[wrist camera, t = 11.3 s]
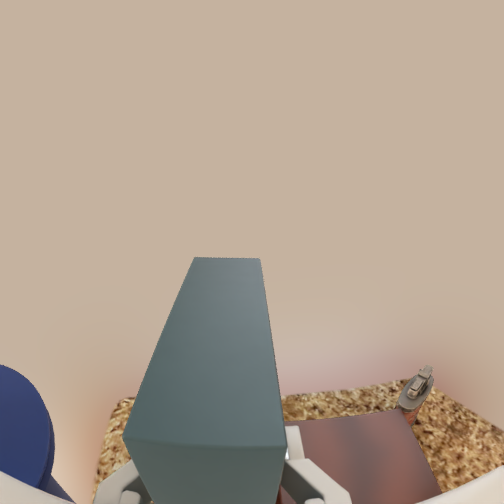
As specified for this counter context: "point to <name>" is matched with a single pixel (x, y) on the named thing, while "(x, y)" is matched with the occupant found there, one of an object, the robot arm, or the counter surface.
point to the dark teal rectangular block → (212, 394)
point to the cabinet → (369, 458)
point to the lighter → (415, 394)
